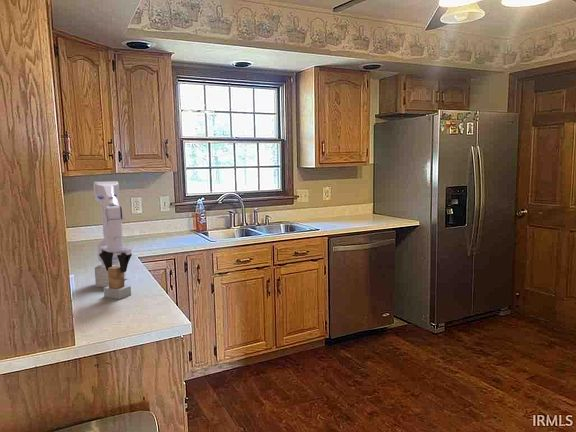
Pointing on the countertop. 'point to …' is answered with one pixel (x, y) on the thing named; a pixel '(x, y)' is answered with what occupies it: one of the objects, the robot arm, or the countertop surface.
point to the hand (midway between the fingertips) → (116, 271)
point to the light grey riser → (117, 292)
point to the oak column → (115, 277)
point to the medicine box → (101, 276)
